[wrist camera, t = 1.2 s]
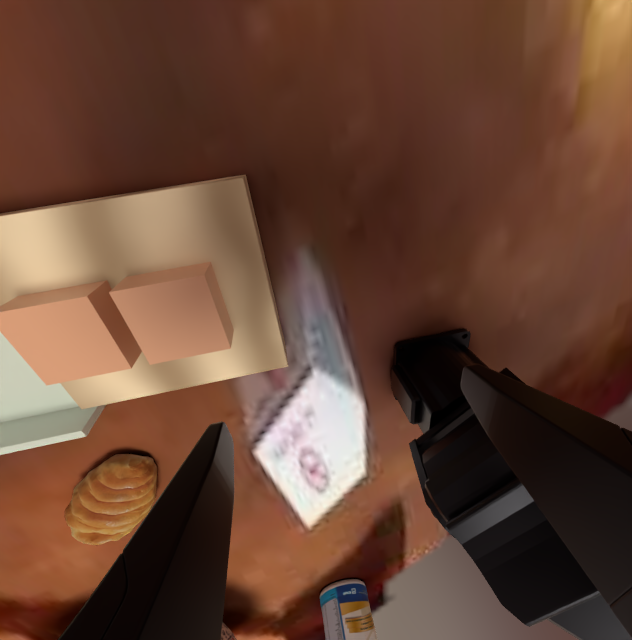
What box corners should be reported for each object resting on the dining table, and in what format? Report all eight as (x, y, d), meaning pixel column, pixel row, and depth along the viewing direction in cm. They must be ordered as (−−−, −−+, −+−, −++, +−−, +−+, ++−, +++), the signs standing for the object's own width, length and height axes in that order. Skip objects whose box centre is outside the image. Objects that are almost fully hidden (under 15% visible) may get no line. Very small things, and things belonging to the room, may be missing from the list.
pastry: (95, 438, 24) (69, 483, 21) (177, 453, 27) (166, 495, 23) (72, 500, 27) (47, 547, 24) (147, 508, 30) (134, 551, 27)
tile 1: (210, 261, 15) (204, 275, 14) (233, 330, 18) (230, 348, 16) (126, 276, 15) (108, 292, 13) (161, 344, 17) (149, 364, 16)
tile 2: (106, 280, 15) (86, 296, 13) (144, 347, 17) (131, 368, 16) (17, 296, 15) (-15, 314, 13) (68, 362, 17) (46, 385, 15)
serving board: (245, 174, 16) (242, 177, 14) (285, 345, 22) (288, 366, 20) (-21, 216, 15) (-69, 227, 13) (99, 383, 21) (81, 409, 19)
